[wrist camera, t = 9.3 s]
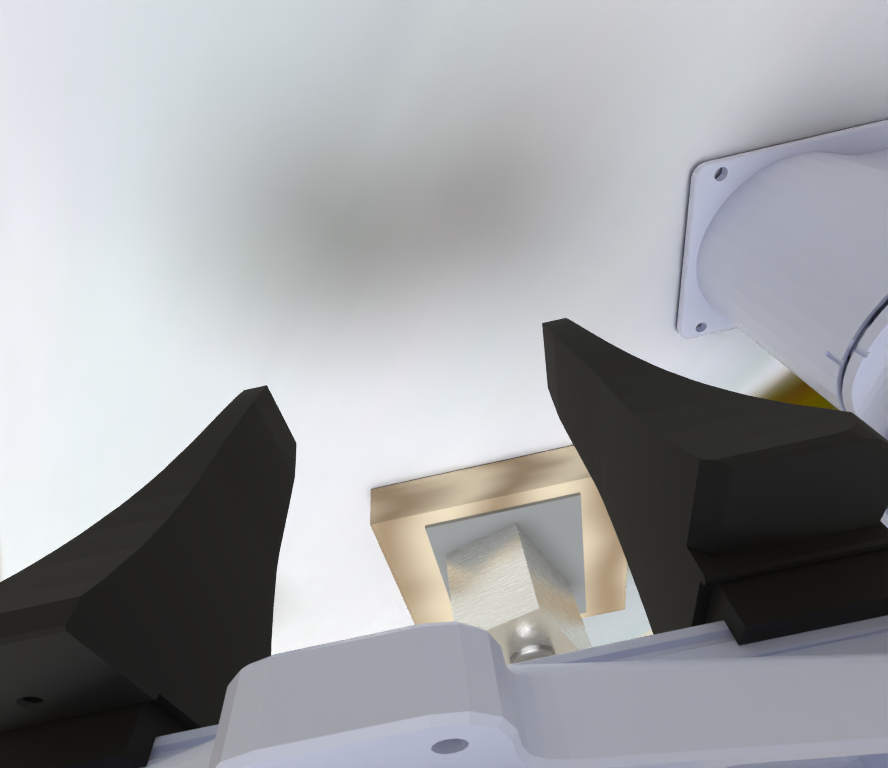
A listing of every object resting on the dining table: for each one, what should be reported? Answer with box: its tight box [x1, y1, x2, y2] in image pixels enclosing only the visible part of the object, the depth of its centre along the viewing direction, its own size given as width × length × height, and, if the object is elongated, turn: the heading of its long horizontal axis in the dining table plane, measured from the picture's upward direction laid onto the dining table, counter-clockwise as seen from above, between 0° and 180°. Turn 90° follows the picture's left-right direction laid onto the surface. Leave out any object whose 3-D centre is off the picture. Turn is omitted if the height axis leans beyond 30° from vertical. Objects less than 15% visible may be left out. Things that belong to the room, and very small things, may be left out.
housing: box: [445, 522, 592, 665], centre depth 27 cm, size 4×8×6 cm, turn 32°
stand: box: [370, 445, 627, 625], centre depth 31 cm, size 14×14×3 cm
